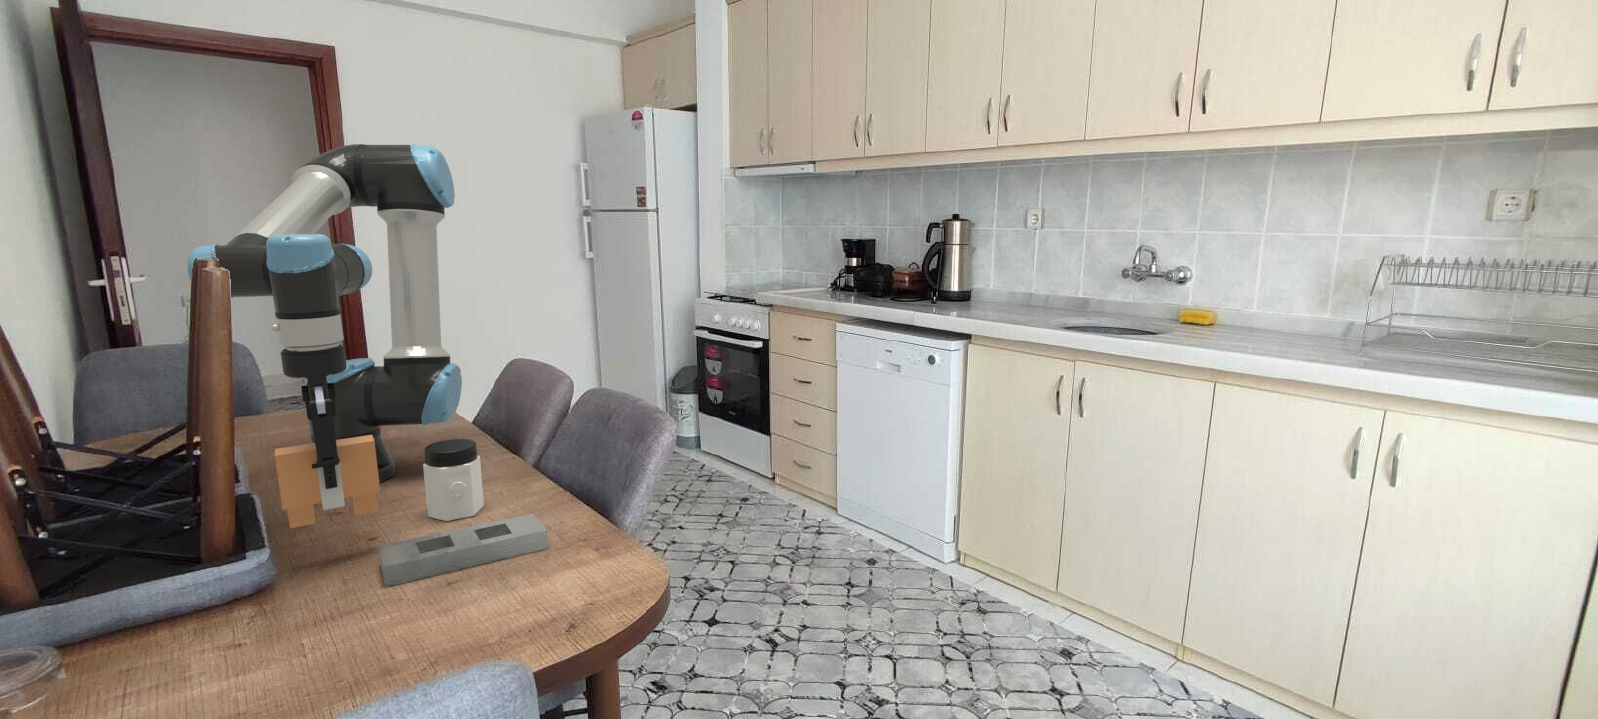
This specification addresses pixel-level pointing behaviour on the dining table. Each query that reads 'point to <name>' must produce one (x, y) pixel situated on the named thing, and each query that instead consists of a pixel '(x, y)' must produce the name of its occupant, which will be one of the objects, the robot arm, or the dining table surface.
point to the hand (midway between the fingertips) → (333, 502)
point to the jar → (453, 479)
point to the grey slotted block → (460, 549)
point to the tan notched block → (303, 481)
